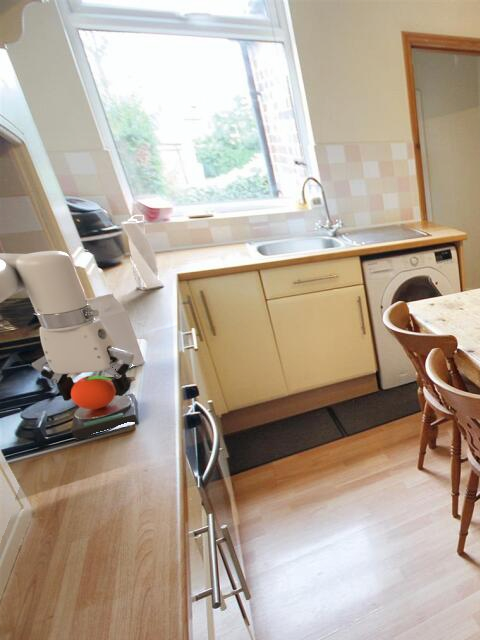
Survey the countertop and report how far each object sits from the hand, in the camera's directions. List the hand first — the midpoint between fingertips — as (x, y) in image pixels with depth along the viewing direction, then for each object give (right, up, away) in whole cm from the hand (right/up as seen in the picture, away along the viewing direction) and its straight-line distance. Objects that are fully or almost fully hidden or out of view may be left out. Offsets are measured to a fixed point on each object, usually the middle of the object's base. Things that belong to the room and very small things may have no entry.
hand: (98, 395), depth 96 cm
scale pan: (0, -3, +2) cm, 4 cm away
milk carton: (-16, +4, +25) cm, 30 cm away
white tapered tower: (-58, +33, +90) cm, 112 cm away
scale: (0, -6, +2) cm, 6 cm away
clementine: (0, -3, +1) cm, 3 cm away
